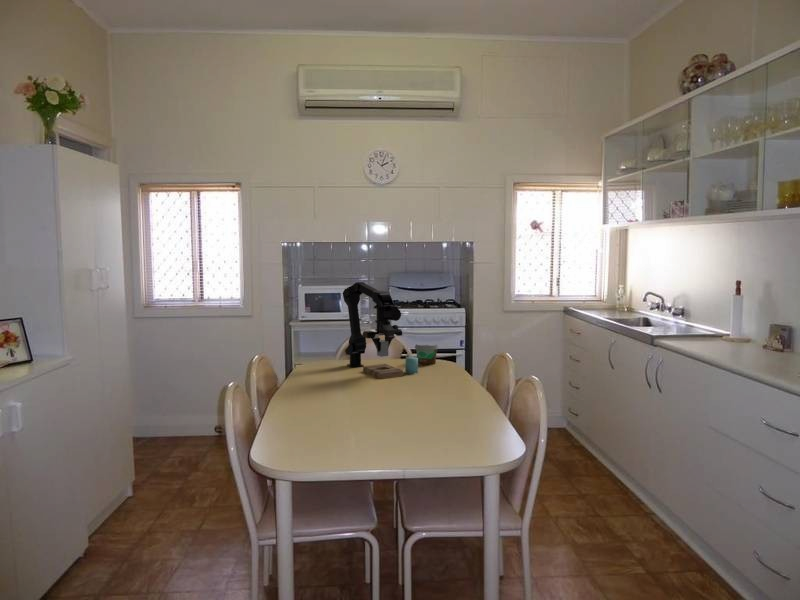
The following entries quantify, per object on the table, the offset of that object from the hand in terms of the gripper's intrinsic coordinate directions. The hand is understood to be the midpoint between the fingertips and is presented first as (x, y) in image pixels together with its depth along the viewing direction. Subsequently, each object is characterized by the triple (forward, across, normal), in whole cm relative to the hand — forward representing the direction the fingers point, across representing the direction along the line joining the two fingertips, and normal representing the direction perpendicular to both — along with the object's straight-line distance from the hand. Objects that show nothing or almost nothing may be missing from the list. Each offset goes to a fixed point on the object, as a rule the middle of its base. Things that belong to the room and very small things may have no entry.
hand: (382, 351), depth 267 cm
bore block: (+11, 0, 0) cm, 11 cm away
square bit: (+2, 0, 0) cm, 2 cm away
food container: (+11, +29, +8) cm, 32 cm away
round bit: (+11, +13, -5) cm, 18 cm away
